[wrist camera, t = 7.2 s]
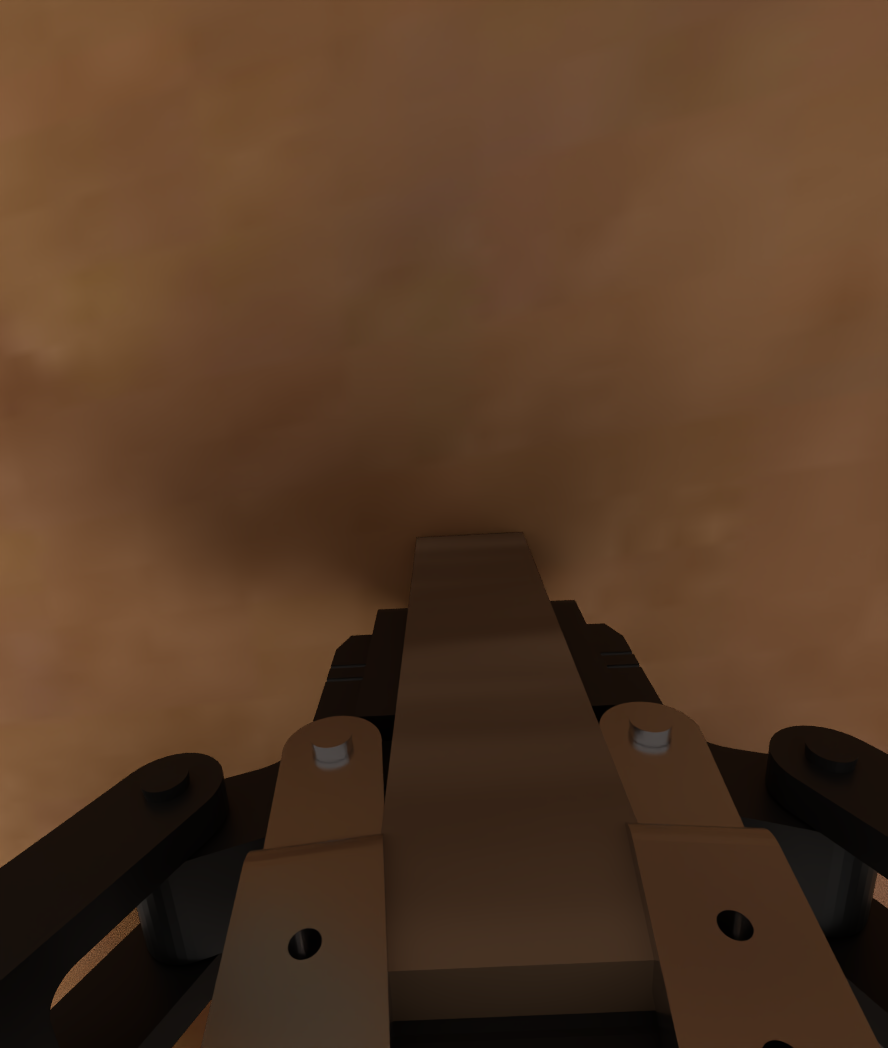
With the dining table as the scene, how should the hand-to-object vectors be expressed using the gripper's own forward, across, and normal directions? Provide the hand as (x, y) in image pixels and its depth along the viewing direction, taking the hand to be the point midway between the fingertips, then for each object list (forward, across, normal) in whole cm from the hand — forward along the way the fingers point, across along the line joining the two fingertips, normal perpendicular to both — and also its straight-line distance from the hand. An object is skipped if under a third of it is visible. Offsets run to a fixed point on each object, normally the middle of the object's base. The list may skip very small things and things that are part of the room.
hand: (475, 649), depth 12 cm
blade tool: (+3, 0, +9) cm, 10 cm away
